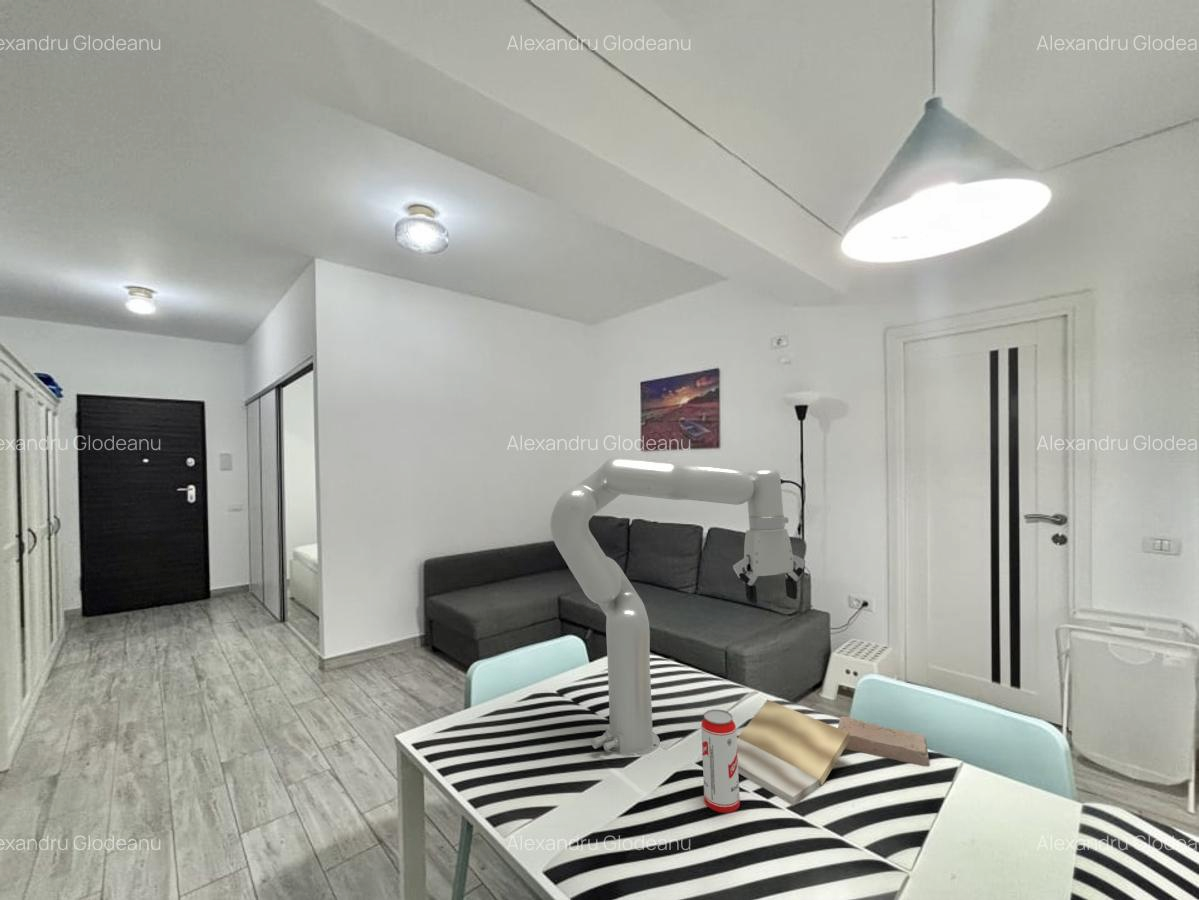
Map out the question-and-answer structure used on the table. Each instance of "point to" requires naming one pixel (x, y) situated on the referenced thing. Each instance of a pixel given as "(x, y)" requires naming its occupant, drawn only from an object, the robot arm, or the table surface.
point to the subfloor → (774, 773)
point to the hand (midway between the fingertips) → (772, 600)
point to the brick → (885, 742)
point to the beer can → (720, 761)
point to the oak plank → (796, 739)
